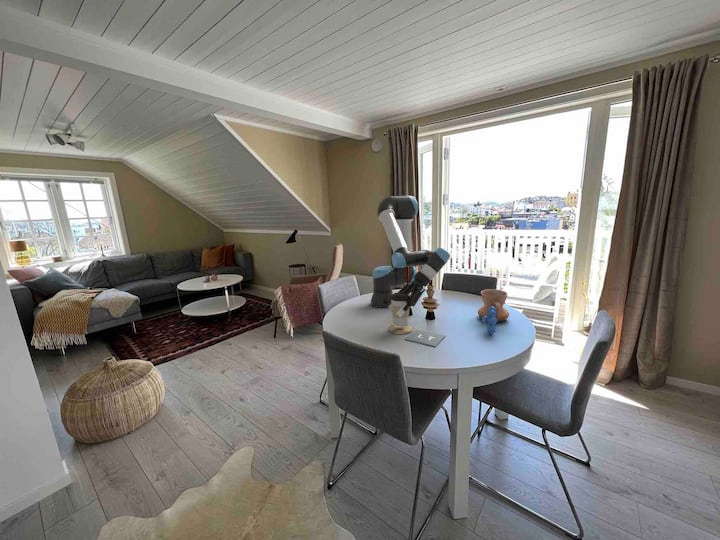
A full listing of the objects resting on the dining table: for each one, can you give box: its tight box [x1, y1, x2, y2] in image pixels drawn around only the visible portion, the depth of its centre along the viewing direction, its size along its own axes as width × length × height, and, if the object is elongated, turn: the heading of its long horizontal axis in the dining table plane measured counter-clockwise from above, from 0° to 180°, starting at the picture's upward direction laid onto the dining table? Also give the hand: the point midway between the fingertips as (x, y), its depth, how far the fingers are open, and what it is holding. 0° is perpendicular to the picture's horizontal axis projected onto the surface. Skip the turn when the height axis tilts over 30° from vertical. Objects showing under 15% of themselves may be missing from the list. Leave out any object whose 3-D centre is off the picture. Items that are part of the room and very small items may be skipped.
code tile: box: [404, 329, 446, 348], centre depth 130 cm, size 14×12×1 cm
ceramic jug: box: [477, 288, 510, 322], centre depth 148 cm, size 18×14×14 cm
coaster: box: [388, 324, 413, 335], centre depth 141 cm, size 11×11×1 cm
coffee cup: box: [391, 291, 410, 326], centre depth 138 cm, size 9×9×15 cm
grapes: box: [481, 306, 499, 335], centre depth 133 cm, size 12×7×12 cm, turn 157°
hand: (394, 312), depth 138 cm, fingers closed on coffee cup, 9 cm apart
